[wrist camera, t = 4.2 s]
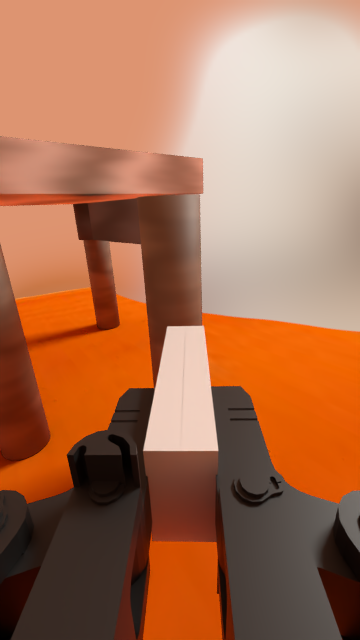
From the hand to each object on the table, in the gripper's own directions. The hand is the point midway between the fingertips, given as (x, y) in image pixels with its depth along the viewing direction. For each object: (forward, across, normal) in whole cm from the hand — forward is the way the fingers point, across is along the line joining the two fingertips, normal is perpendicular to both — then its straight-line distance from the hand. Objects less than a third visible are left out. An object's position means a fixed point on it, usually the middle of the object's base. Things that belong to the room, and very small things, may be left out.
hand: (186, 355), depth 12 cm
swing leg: (+7, -3, -8) cm, 11 cm away
